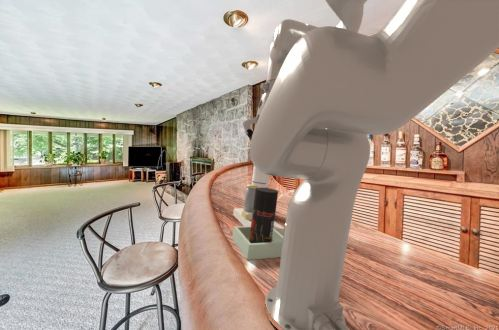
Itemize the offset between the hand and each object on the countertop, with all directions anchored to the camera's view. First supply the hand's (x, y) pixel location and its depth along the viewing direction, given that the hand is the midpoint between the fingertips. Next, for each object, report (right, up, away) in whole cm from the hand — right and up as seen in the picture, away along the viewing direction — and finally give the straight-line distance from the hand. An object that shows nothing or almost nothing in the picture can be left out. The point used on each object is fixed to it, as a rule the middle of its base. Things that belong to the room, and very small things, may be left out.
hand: (271, 159), depth 56 cm
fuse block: (-3, -22, +19) cm, 30 cm away
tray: (-3, -24, +2) cm, 24 cm away
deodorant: (-3, -23, +2) cm, 23 cm away
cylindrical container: (-3, -21, +36) cm, 42 cm away
